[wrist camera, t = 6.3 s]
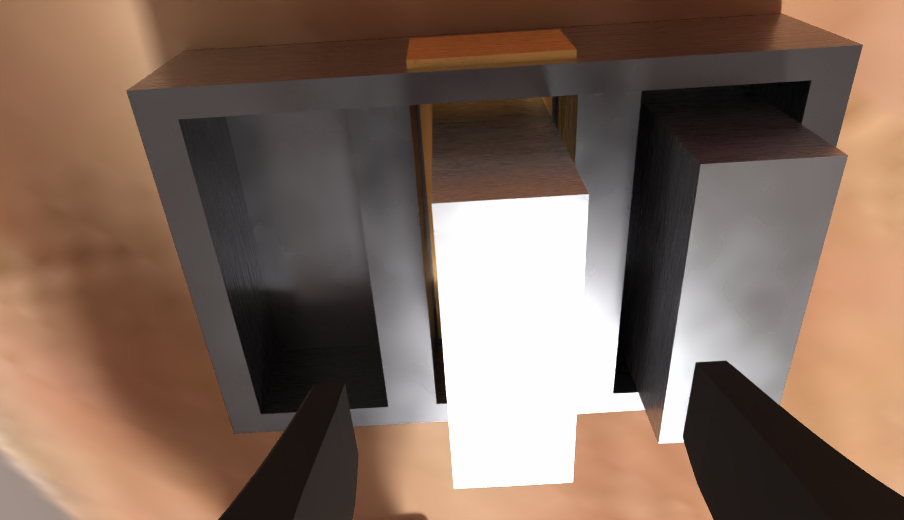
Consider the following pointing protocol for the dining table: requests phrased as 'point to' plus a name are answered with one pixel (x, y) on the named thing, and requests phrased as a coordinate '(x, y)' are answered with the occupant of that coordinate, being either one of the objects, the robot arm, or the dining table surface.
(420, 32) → the dining table surface
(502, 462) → the block
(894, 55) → the dining table surface
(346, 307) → the rack
